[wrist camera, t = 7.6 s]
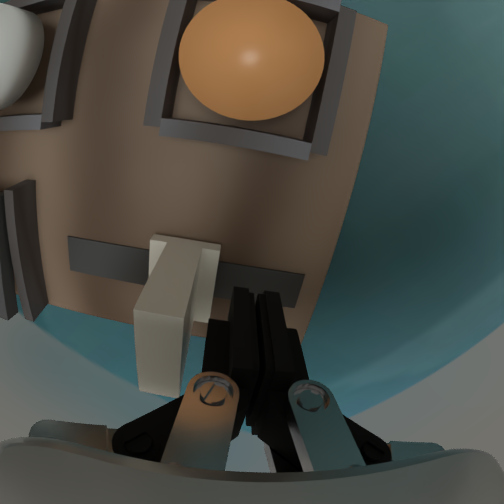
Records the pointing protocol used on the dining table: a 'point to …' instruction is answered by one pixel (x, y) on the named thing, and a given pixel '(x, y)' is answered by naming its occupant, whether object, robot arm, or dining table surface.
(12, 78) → the grey button
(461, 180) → the dining table surface
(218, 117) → the panel
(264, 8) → the orange button
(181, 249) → the cream stepped block
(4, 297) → the rocker
